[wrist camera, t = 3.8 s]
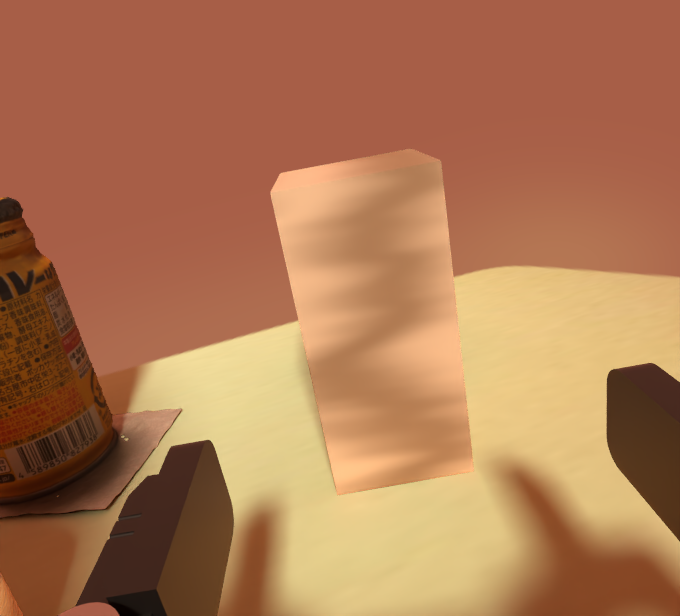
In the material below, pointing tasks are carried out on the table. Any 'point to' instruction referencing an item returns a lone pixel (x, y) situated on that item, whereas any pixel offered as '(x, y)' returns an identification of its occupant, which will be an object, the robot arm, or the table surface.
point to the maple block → (378, 316)
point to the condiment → (55, 394)
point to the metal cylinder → (7, 601)
